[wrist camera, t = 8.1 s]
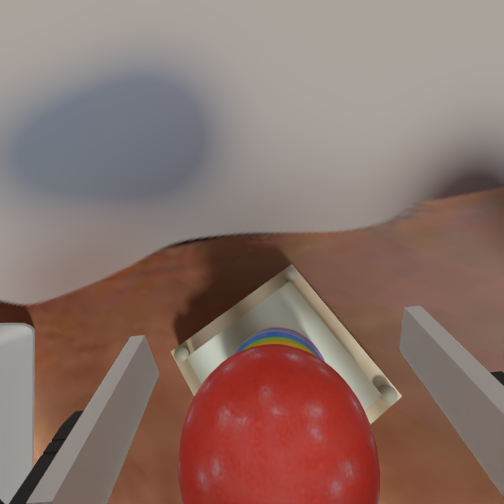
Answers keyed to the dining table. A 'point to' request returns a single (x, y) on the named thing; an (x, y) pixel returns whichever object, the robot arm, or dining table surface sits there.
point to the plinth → (317, 309)
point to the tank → (16, 406)
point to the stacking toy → (277, 430)
